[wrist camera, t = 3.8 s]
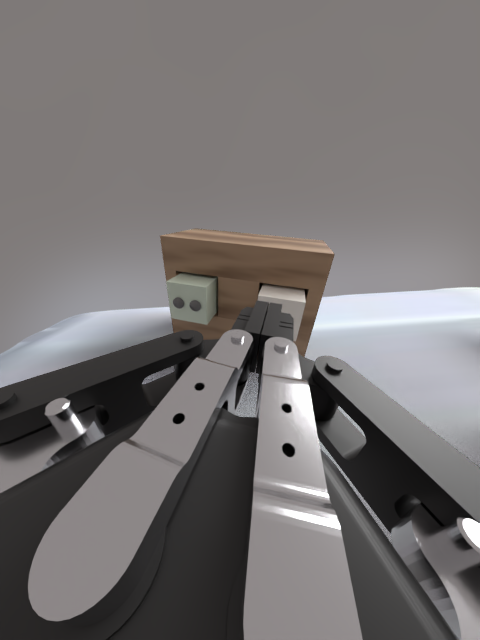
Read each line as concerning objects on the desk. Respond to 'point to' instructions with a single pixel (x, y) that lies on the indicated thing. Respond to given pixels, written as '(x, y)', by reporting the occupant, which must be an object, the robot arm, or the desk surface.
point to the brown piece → (248, 273)
